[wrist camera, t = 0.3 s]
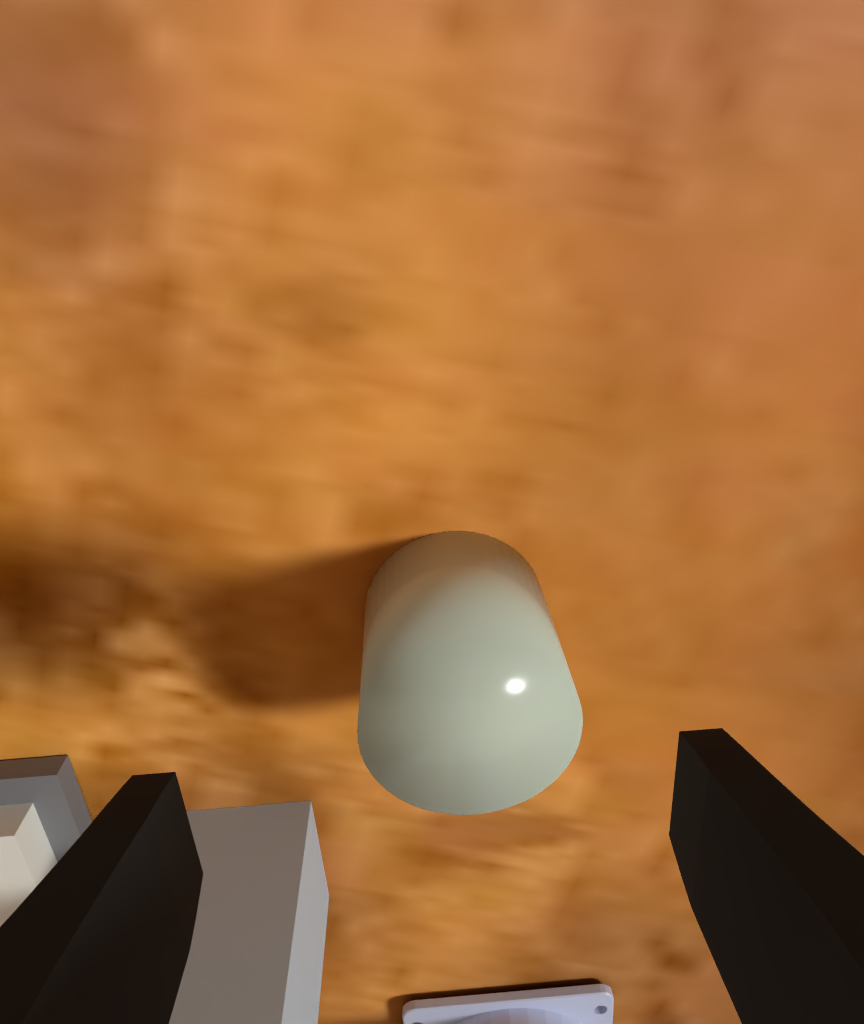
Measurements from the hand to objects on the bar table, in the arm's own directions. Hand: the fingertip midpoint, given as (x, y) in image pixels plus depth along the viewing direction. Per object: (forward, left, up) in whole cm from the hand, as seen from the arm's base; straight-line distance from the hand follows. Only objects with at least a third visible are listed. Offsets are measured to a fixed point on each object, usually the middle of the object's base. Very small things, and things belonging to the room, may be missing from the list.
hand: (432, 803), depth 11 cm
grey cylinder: (-3, -1, -10) cm, 10 cm away
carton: (-12, +6, -10) cm, 17 cm away
